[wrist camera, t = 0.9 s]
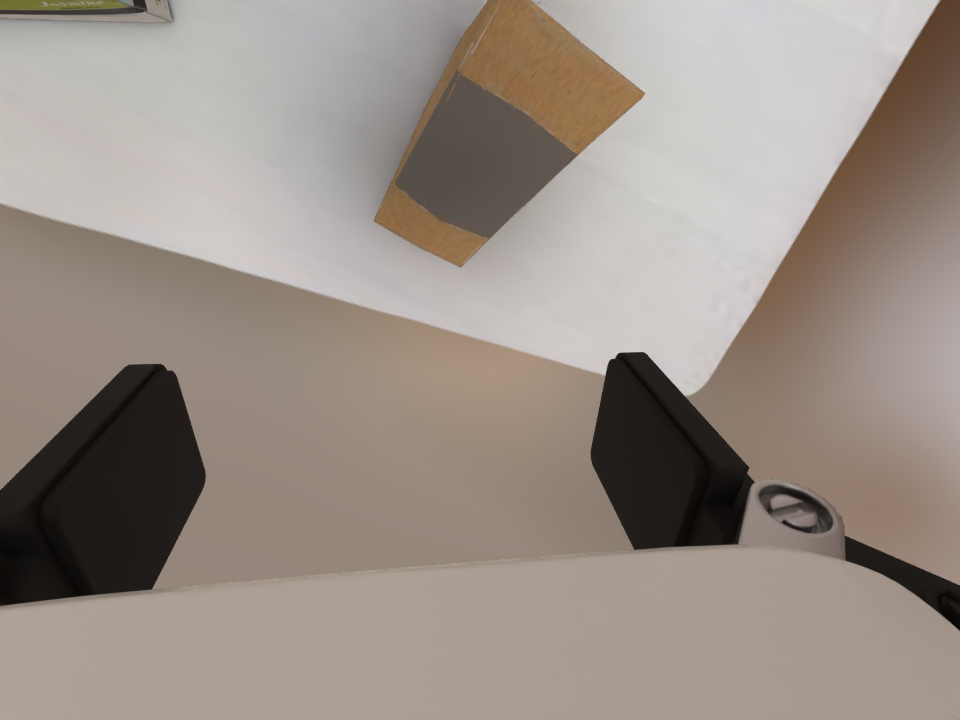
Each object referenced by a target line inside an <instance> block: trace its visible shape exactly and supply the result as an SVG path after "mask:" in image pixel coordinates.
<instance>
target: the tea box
mask: <svg viewBox="0 0 960 720" xmlns="http://www.w3.org/2000/svg"><path fill="white" fill-rule="evenodd" d="M0 18H2V19H37V20H72V21H114V22H171V21H172V19H171V15H170V11H169V6H168V1H167V0H0Z"/></svg>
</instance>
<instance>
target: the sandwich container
mask: <svg viewBox="0 0 960 720" xmlns="http://www.w3.org/2000/svg"><path fill="white" fill-rule="evenodd" d="M644 95H645V93H644V92H643V91H642V90H640V89H639V88H638V87H637V86H635V85H634V84H633V83H632V82H630V81H629V80H628V79H626V78H625V77H624V76H623V75H621V74H620V73H619V72H618V71H616V70H615V69H614V68H613V67H611V66H610V65H609V64H608V63H606V62H605V61H604V60H603V59H601V58H600V57H599V56H598V55H596V54H595V53H594V52H592V51H591V50H590V49H589V48H587V47H586V46H585V45H584V44H582V43H581V42H580V41H579V40H578V39H576V38H575V37H574V36H573V35H572V34H570V33H569V32H568V31H567V30H566V29H564V28H563V27H562V26H561V25H560V24H558V23H557V22H556V21H555V20H554V19H552V18H551V17H550V16H549V15H548V14H547V13H545V12H544V11H543V10H542V9H541V8H539V7H538V6H537V5H536V4H535V3H533V2H532V1H531V0H489V1H488V2H487V3H486V5H485V6H484V7H483V9H482V10H481V11H480V13H479V14H478V15H477V17H476V18H475V20H474V21H473V22H472V24H471V25H470V26H469V28H468V29H467V30H466V32H465V34H464V35H463V37H462V39H461V41H460V42H459V44H458V46H457V48H456V50H455V51H454V53H453V55H452V57H451V59H450V61H449V63H448V65H447V67H446V69H445V71H444V73H443V75H442V77H441V79H440V81H439V83H438V85H437V87H436V89H435V91H434V93H433V94H432V96H431V98H430V100H429V102H428V104H427V106H426V108H425V110H424V112H423V114H422V117H421V119H420V121H419V123H418V125H417V128H416V130H415V132H414V134H413V136H412V138H411V141H410V143H409V145H408V147H407V149H406V152H405V154H404V156H403V158H402V160H401V162H400V165H399V167H398V169H397V171H396V173H395V176H394V178H393V180H392V182H391V184H390V186H389V189H388V191H387V193H386V195H385V197H384V200H383V202H382V204H381V206H380V208H379V210H378V213H377V215H376V217H375V219H374V221H375V222H377V223H378V224H380V225H382V226H384V227H385V228H387V229H389V230H390V231H392V232H394V233H395V234H397V235H399V236H401V237H402V238H404V239H406V240H407V241H409V242H411V243H412V244H414V245H416V246H418V247H420V248H422V249H424V250H426V251H428V252H430V253H432V254H434V255H436V256H438V257H440V258H443V259H445V260H447V261H449V262H451V263H453V264H455V265H457V266H459V267H462V266H463V265H464V264H465V263H466V262H467V261H468V260H469V259H470V258H471V257H472V256H473V255H474V254H475V253H476V252H477V251H478V250H479V249H480V248H481V247H482V246H483V245H484V244H485V243H486V242H487V241H488V240H489V239H490V238H491V237H492V236H493V235H494V234H495V233H496V232H497V231H498V230H499V229H500V228H501V227H502V226H503V225H504V224H505V223H506V222H507V221H508V220H509V219H510V218H511V217H512V216H513V215H514V214H515V213H517V212H518V211H519V210H520V209H521V208H522V207H523V206H524V205H525V204H526V203H527V202H529V201H530V200H531V199H532V198H533V197H534V196H535V195H536V194H537V193H538V192H539V191H540V190H541V189H542V188H543V187H544V186H545V185H546V184H548V183H549V182H550V181H551V180H552V179H553V178H554V177H555V176H556V175H557V174H558V173H559V172H560V171H561V170H562V169H563V168H564V167H566V166H567V165H568V164H569V163H570V162H571V161H572V160H573V159H574V158H575V157H576V156H577V155H578V154H579V153H581V152H582V151H583V150H584V149H585V148H586V147H587V146H588V145H589V144H590V143H591V142H592V141H594V140H595V139H596V138H597V137H598V136H599V135H600V134H602V133H603V132H604V131H605V130H606V129H607V128H608V127H610V126H611V125H612V124H613V123H614V122H615V121H616V120H618V119H619V118H620V117H621V116H622V115H623V114H624V113H626V112H627V111H628V110H629V109H630V108H631V107H632V106H634V105H635V104H636V103H637V102H638V101H639V100H640V99H641V98H642V97H643V96H644Z"/></svg>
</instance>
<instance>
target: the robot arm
mask: <svg viewBox="0 0 960 720" xmlns="http://www.w3.org/2000/svg"><path fill="white" fill-rule="evenodd" d="M591 461H592V465H593V467H594V469H595V471H596V473H597V475H598V477H599V479H600V481H601V483H602V485H603V487H604V489H605V491H606V493H607V495H608V497H609V499H610V501H611V503H612V505H613V507H614V509H615V511H616V513H617V515H618V517H619V519H620V521H621V524H622V526H623V528H624V530H625V532H626V534H627V536H628V538H629V540H630V542H631V544H632V546H633V548H634V550H625V551H610V552H597V553H584V554H571V555H559V556H545V557H532V558H519V559H506V560H494V561H480V562H468V563H456V564H444V565H431V566H419V567H407V568H395V569H383V570H371V571H359V572H347V573H335V574H323V575H311V576H301V577H289V578H278V579H266V580H255V581H244V582H232V583H222V584H209V585H198V586H187V587H176V588H164V589H153V590H152V588H153V586H154V584H155V582H156V580H157V578H158V576H159V574H160V572H161V571H162V569H163V567H164V564H165V563H166V561H167V559H168V557H169V555H170V553H171V551H172V549H173V547H174V545H175V543H176V541H177V539H178V537H179V535H180V533H181V531H182V529H183V527H184V525H185V523H186V521H187V519H188V517H189V515H190V513H191V511H192V510H193V508H194V506H195V504H196V502H197V500H198V498H199V496H200V494H201V492H202V490H203V487H204V484H205V478H206V476H205V469H204V466H203V462H202V459H201V456H200V452H199V449H198V445H197V442H196V439H195V436H194V432H193V429H192V425H191V422H190V419H189V415H188V413H187V409H186V406H185V402H184V399H183V396H182V392H181V389H180V386H179V382H178V379H177V376H176V374H175V373H174V372H173V371H167V369H166V368H165V367H164V365H162V364H138V365H128V366H126V367H125V368H124V369H123V370H122V371H120V372H119V373H118V374H117V375H116V376H115V377H114V378H113V379H112V381H110V382H109V383H108V385H106V386H105V387H104V388H103V389H102V390H101V391H100V392H99V393H98V394H97V395H96V396H95V397H94V398H93V399H92V400H91V401H90V402H89V403H88V404H87V405H86V406H85V407H84V408H83V409H82V410H81V411H80V412H79V413H78V414H77V415H76V416H75V417H74V418H73V419H72V420H71V421H70V422H69V423H68V424H67V425H66V426H65V427H64V428H63V429H62V430H61V431H60V432H59V433H58V434H57V435H56V436H55V437H54V438H53V439H52V440H51V441H50V442H49V443H48V444H47V445H46V446H45V447H44V448H43V449H42V450H41V451H40V452H39V453H38V454H37V455H36V456H35V457H34V458H33V459H32V460H31V461H30V462H29V463H27V464H26V465H25V467H24V468H22V469H21V470H20V471H19V472H18V473H17V474H16V475H15V476H14V478H12V479H11V480H10V481H9V482H8V483H7V484H6V485H5V486H4V487H3V488H2V489H1V490H0V720H960V585H957V584H955V583H953V582H950V581H948V580H946V579H944V578H941V577H939V576H936V575H934V574H932V573H930V572H927V571H925V570H923V569H920V568H918V567H916V566H913V565H911V564H909V563H907V562H904V561H902V560H900V559H897V558H895V557H893V556H890V555H888V554H886V553H884V552H881V551H879V550H877V549H874V548H872V547H870V546H867V545H865V544H863V543H860V542H858V541H856V540H854V539H851V538H849V537H847V536H845V533H844V532H845V531H844V524H843V521H842V517H841V516H840V514H839V513H838V512H837V510H836V509H835V507H834V506H832V505H831V504H830V503H829V502H828V501H827V500H826V499H825V498H823V497H822V496H820V495H818V494H817V493H815V492H814V491H812V490H810V489H808V488H806V487H804V486H801V485H799V484H797V483H793V482H790V481H786V480H781V479H763V480H759V481H757V482H754V481H753V480H752V479H751V477H749V475H748V474H747V472H748V469H749V467H748V466H747V465H746V463H745V462H744V461H743V460H742V459H741V458H740V457H739V456H738V455H737V453H736V452H735V451H734V450H733V449H732V448H731V447H730V446H729V445H728V444H727V442H726V441H725V440H724V439H723V438H722V437H721V436H720V435H719V434H718V432H717V431H716V430H715V429H714V428H713V427H712V426H711V425H710V424H709V423H708V421H707V420H706V419H705V418H704V417H703V416H702V415H701V414H700V413H699V412H698V411H697V409H696V408H695V407H694V406H693V405H692V404H691V403H690V402H689V400H687V398H686V397H685V396H684V395H683V394H682V393H681V392H680V391H679V389H678V388H677V387H676V386H675V385H674V384H673V383H672V382H671V381H670V379H669V378H668V377H667V376H666V375H665V374H664V373H663V372H662V371H661V370H660V368H659V367H658V366H657V365H656V364H655V363H654V362H653V361H652V360H651V359H650V357H649V356H648V355H647V354H646V353H644V352H631V353H619V354H617V356H616V358H615V359H611V360H610V361H609V363H608V366H607V371H606V377H605V382H604V387H603V392H602V397H601V402H600V407H599V412H598V417H597V422H596V427H595V432H594V437H593V442H592V448H591Z"/></svg>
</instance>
